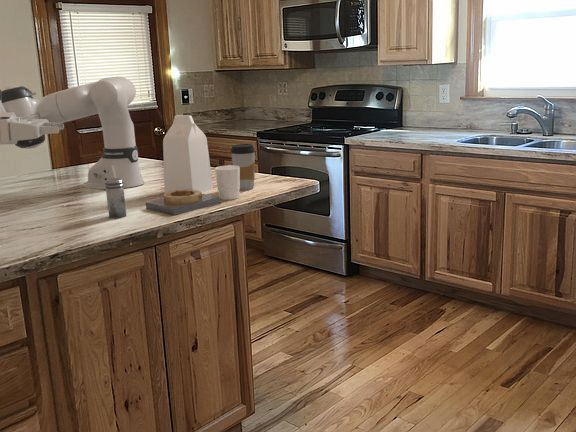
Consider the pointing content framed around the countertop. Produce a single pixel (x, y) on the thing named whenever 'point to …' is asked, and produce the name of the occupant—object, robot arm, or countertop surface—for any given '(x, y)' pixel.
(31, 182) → the countertop surface
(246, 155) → the coffee cup
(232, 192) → the white cup
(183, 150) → the milk
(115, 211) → the salt shaker
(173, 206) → the ring block
